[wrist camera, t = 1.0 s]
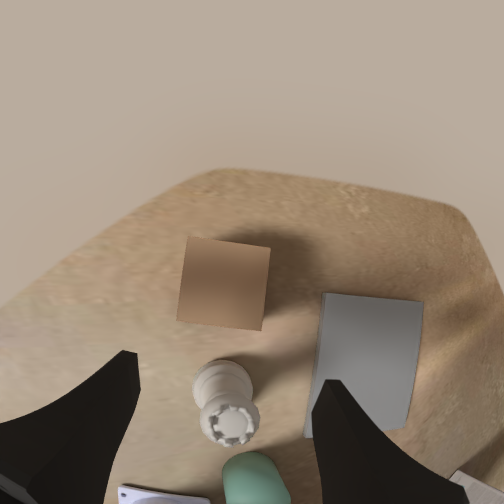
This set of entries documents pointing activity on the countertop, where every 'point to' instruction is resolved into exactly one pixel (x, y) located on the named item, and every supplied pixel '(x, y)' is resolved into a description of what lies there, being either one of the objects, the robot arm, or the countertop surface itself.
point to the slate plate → (368, 354)
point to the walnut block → (223, 284)
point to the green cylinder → (253, 480)
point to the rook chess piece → (225, 403)
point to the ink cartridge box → (478, 489)
